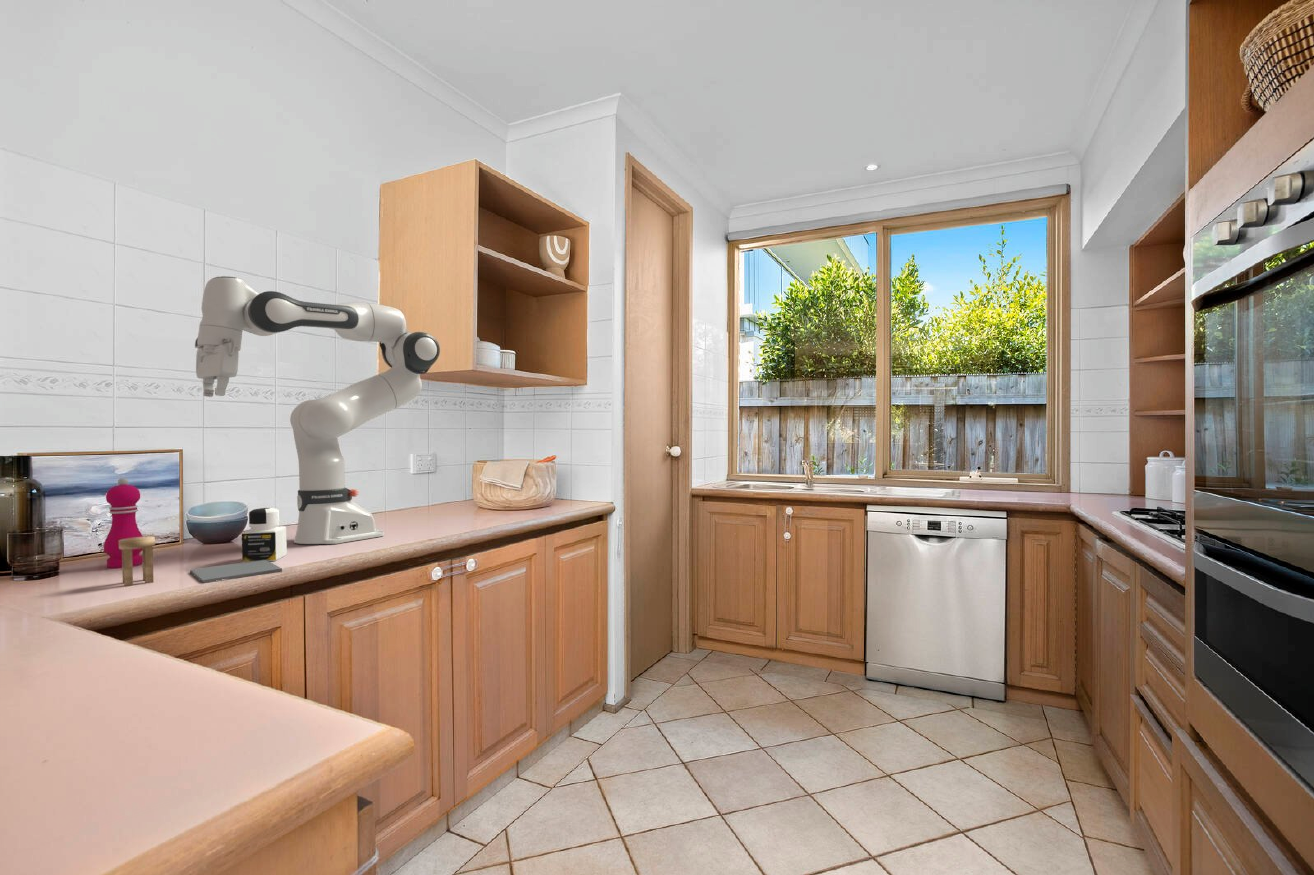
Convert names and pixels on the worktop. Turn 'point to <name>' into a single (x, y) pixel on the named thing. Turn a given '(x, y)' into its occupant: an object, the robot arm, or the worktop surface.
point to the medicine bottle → (264, 536)
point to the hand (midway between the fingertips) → (213, 396)
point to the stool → (147, 557)
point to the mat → (235, 570)
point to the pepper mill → (122, 522)
